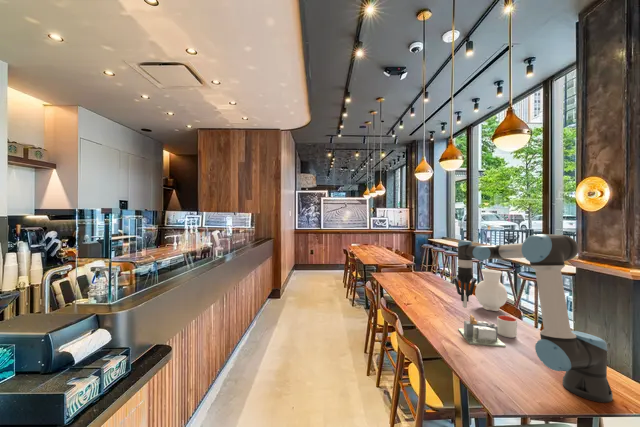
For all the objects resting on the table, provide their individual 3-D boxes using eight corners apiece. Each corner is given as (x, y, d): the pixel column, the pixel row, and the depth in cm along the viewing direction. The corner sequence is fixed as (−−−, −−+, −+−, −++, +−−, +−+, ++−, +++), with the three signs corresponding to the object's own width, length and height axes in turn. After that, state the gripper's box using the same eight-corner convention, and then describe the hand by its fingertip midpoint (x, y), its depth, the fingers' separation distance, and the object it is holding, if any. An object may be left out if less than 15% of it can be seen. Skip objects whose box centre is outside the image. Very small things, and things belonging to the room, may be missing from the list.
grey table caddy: (505, 347, 158) (505, 331, 158) (469, 344, 161) (469, 328, 161) (490, 332, 178) (490, 318, 178) (458, 329, 181) (458, 316, 181)
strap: (495, 328, 167) (495, 327, 167) (474, 325, 169) (474, 323, 169) (493, 327, 169) (493, 325, 169) (472, 323, 171) (473, 321, 171)
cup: (519, 339, 168) (520, 322, 168) (500, 337, 170) (501, 320, 170) (512, 332, 178) (512, 316, 178) (494, 330, 180) (494, 314, 180)
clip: (477, 324, 168) (477, 317, 168) (472, 324, 168) (472, 317, 168) (474, 321, 172) (474, 315, 172) (470, 321, 172) (470, 314, 172)
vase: (512, 311, 217) (513, 272, 217) (492, 315, 209) (493, 273, 209) (489, 304, 235) (490, 267, 235) (470, 307, 227) (471, 268, 227)
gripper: (474, 266, 173) (474, 305, 173) (451, 265, 176) (451, 304, 175) (479, 268, 166) (479, 309, 166) (455, 267, 168) (454, 308, 168)
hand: (464, 306), depth 170 cm, fingers closed
